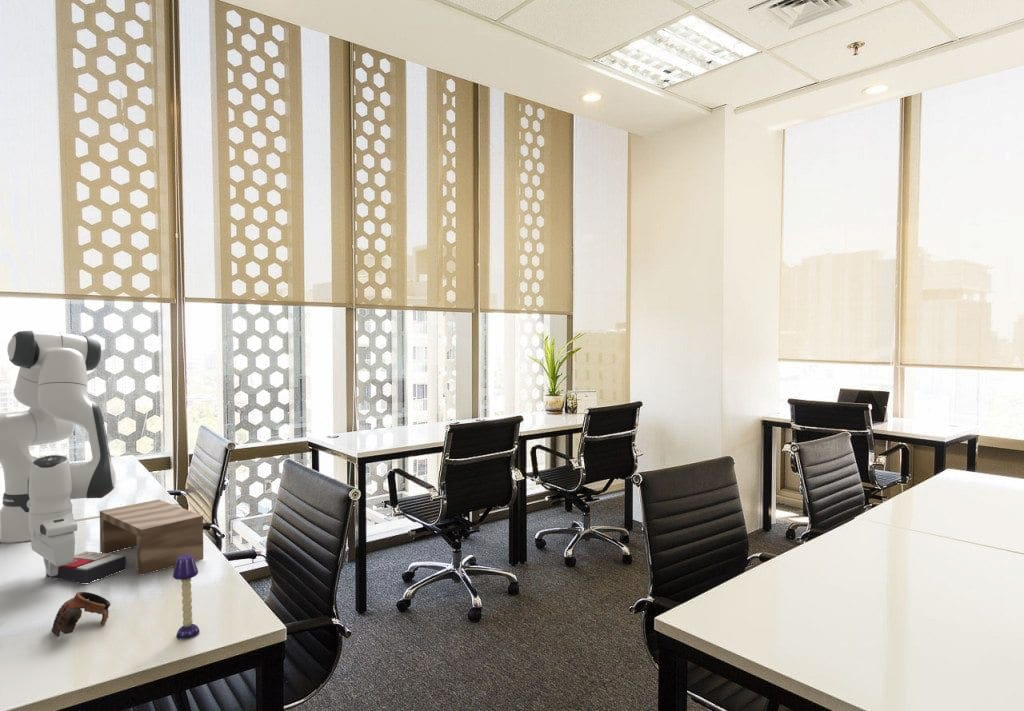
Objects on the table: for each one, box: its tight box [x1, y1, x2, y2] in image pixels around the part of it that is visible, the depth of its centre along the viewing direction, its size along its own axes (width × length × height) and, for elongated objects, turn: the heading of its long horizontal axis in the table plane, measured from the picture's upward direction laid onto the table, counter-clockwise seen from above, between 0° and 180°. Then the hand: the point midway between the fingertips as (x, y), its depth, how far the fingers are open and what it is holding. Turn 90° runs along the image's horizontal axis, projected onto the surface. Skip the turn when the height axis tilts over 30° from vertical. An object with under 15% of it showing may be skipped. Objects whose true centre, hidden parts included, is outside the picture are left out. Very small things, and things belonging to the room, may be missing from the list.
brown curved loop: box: [51, 591, 112, 638], centre depth 130 cm, size 12×10×8 cm
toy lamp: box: [172, 554, 201, 640], centre depth 128 cm, size 5×5×17 cm
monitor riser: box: [99, 499, 204, 576], centre depth 174 cm, size 28×16×12 cm, turn 53°
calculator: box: [45, 551, 127, 584], centre depth 161 cm, size 11×4×15 cm
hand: (51, 574), depth 156 cm, fingers closed
